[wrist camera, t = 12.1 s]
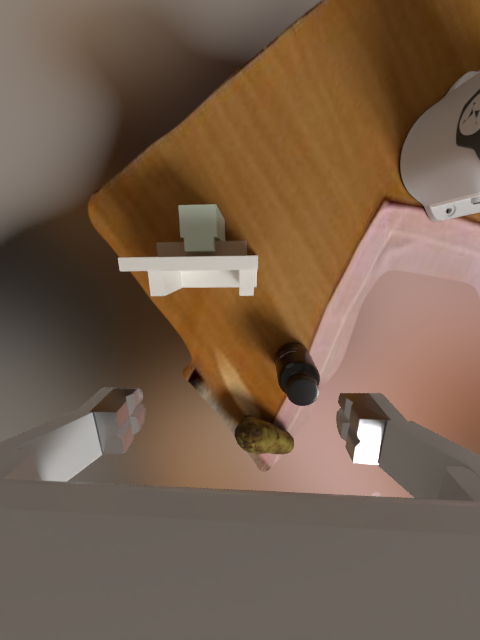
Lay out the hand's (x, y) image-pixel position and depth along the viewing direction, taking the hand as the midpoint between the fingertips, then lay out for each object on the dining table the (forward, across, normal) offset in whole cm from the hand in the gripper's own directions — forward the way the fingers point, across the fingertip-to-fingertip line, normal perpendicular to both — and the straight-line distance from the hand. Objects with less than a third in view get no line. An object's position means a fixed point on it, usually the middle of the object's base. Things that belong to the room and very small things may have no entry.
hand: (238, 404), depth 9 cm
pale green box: (+33, +7, -10) cm, 35 cm away
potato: (+34, -3, +30) cm, 46 cm away
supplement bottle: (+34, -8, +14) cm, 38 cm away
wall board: (+34, +7, -5) cm, 35 cm away
